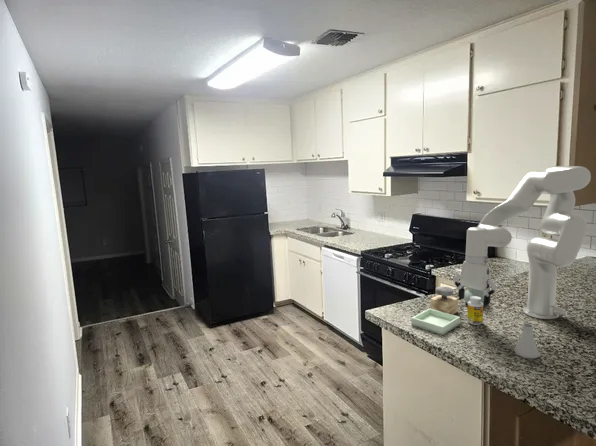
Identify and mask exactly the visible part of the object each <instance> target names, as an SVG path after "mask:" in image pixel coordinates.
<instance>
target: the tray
mask: <svg viewBox="0 0 596 446" xmlns="http://www.w3.org/2000/svg"><path fill="white" fill-rule="evenodd" d="M460 324H461V316H458V315H455V314H453V315H451V314H448V313H444V312H440V311H437V310H433V309H431V308H427V309H425V310H424V311H422V312H420V313H418V314H416V315H414V316H413V317H412V316H411V326H414V327H417V328H420V329H423V330H427V331H430V332H432V333H435V334H437V335H438V334H439V335H441V336H443V335H446V334H447V333H448V332H450V331H452V330H453V329H455V328H457V326H460Z"/></svg>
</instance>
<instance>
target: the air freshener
mask: <svg viewBox="0 0 596 446" xmlns="http://www.w3.org/2000/svg"><path fill="white" fill-rule="evenodd" d="M472 296H477V297H480V298H481V302H482V303H483V306H484V296H485V293H484V292H483V291H482V290H477V289H473V288H469V287H467V290H466V289H465V295H464V299H463V301H464V302H465V303H466V304H468V302H469V301H470V297H472Z"/></svg>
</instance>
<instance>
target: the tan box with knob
mask: <svg viewBox="0 0 596 446" xmlns="http://www.w3.org/2000/svg"><path fill="white" fill-rule="evenodd" d="M435 294H436V296H433V297H431V298H430V309H433V310H437V311H440V312H444V313H448V314H451V315H455V314H456V313H458V312H459V297H454V289H453V288H452V287H448V286H437V287H436V288H435ZM452 295H453V296H452Z"/></svg>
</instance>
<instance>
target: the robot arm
mask: <svg viewBox="0 0 596 446" xmlns="http://www.w3.org/2000/svg"><path fill="white" fill-rule="evenodd" d="M591 175H592V174H591V171H590V170H589V169H588V168H587V167H585V166H580V165H557V166H556V165H555V166H550V167H548V168H547V169H545V170H534V171H533V170H532V171H529V172H527V173H526V175H524V176H523V178H522V179H521V181H520V182H519V183H518V185H516V187H515V189H513V191H512V192H511V194H510V196H508V198H507V199H506V200H505V201H504V202H502V203H500V204H498V205H497V206H495V207H494V208H493V209H491V210H489V211H488V212H487V213H486V214H485V215H484V216H483V218H482V219H481V220H480V221H479V223H478V225H477V226H472V227H469V228H468V229H466V240H465V241H466V243H465V260H464V261H463V263H462V266H461V271H460V274H459V275H455V276H453V277H452V280H453V282H454V285H455V286H456V288H457V291H458V301H462V300H464V295H465V291H466V289H465V287H466V288H468V287H469V288H473V289H477V290H482V291H483V292H484V293H485V296H484V305H483V307H487V306H489V305H490V303H491V296H492V295H493V294H494V293H495V294H496V291H498V289H499V285H498V284H496V283H495V282H494V281H492V280H491V268H490V264H489V263H491V261H492V260H491V258H489V257H488V249H489V248H488V247H494V248H503V247H506V246H508V245H510V244H511V242H512V237H513V236H512V233H511V232H510V231H509V230H508V229H507V228H504V227H502V226H501V227H500V225H501V224H502V223H504V222H505V221H507V220H510V219H512V218H516V217H519V216H522V215H525V214H527V213H528V212H530V210H531V208H532V207H533V206H534V204H535V203H536V202H537V200H538V199H539V198H540V197H541V195H550V196H549V201H548V204H547V207H546V209H545V211H544V215H543V216H542V220H541V221H540V230H541V231H542V232H543V233H544V234H547V235H549V236H554V237H558V239H555V238H550V237H545V236H536V237H533V238H532V239H530V241H529V242H528V244H527V246H526V247H527V248H526V252H527V257H528V259H527V260H528V283H527V284H528V286H527V287H528V288H527V290H528V291H527V302H526V303H527V305H526V306H525V305H524V307H522V312H523V314H525V315H527V316H529V317H531V318H536V319H540V320H554V319H558V318H559V317H560V316H564V317H567V316H568V310H566V309H565V308H560V307H558V303H556V296H557V295H556V294H557V281H558V280H557V277H558V275H557V274H558V271H557V267H556V266H558V267H560V268H561V267H562V268H565V267H568V266H569V267H570V266H571V265H572V264H573V263H574V262H575V260H576V259H577V258H578V257H577V256H578V254H579V251H580V249H581V247H582V244H583V243H584V239H585V237H586V235H587V230H588V226H587V225H588V224H587V221H586V220H585V218H584V217H583V216H581V215H580V214H574V212H573V211H574V208H575V206H576V196H575V193H574V191H578V190H582V189H583V188H586V186H588V184H590V182H591V180H592V179H591V178H592V176H591ZM459 279H460V280H459ZM490 287H492V289H490Z"/></svg>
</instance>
